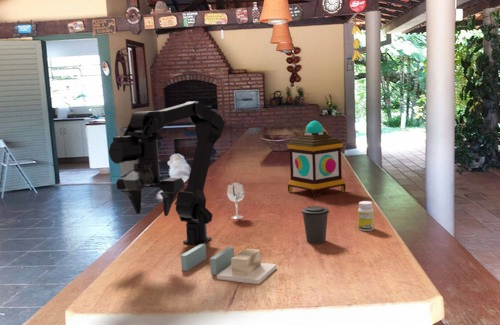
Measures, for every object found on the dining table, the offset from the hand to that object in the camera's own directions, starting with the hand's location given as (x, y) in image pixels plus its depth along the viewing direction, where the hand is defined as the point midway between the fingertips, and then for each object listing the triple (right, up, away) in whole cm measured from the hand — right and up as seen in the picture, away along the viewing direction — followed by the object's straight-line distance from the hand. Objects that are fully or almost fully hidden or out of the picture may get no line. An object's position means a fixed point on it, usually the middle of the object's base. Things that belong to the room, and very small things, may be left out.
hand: (152, 214), depth 143 cm
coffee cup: (+46, -9, +9) cm, 48 cm away
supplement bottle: (+63, -7, +19) cm, 66 cm away
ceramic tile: (+26, -13, -14) cm, 33 cm away
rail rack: (+16, -12, -8) cm, 22 cm away
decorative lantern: (+55, +2, +77) cm, 94 cm away
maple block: (+26, -12, -15) cm, 32 cm away
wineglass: (+22, -5, +41) cm, 47 cm away
